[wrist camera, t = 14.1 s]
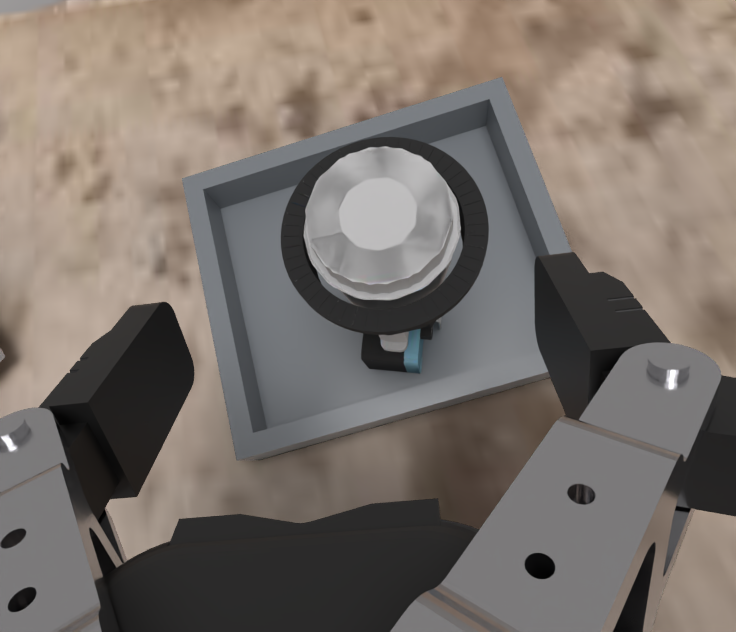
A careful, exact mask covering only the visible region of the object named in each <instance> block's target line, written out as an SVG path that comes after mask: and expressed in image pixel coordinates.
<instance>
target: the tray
mask: <svg viewBox="0 0 736 632" xmlns="http://www.w3.org/2000/svg"><path fill="white" fill-rule="evenodd" d="M378 137H401V138H408V139H414V140H417V141H421V142H424V143H427V144H429V145H432V146H434V147H436V148H438V149H440V150H442V151H444V152H445V153H447V154H448V155H450V156H451V157H453V158H454V159H455V160H456V161H457V162H459V163H460V164H461V165H462V166H463V167H464V168H465V169H466V170H467V172H468V173H469V174H470V176H471V177H472V178H473V180H474V181H475V183H476V185H477V186H478V188H479V190H480V192H481V194H482V197H483V199H484V203H485V206H486V210H487V215H488V224H489V237H488V245H487V251H486V255H485V259H484V262H483V266H482V268H481V270H480V273H479V275H478V277H477V279H476V281H475V283H474V284H473V286H472V287H471V289H470V290H469V292H468V293H467V294H466V295H465V297H464V298H463V299H462V300H461V301H460V302H459V303H458V304H457V305H456V306H455V307H454V308H453V309H452V310H450V311H449V312H448V313H446V314H445V315H444V316H442V320H441V329H439V322H435V323H434V325H433V336H432V340H424V339H423V350H422V358H423V359H422V370H421V374H420V373H409V372H399V371H388V370H377V369H369V368H368V367H367V366H366V364H365V363H364V362H363V361H362V360H361V348H362V340H363V333H359V332H354V331H351V330H348V329H345V328H343V327H340V326H338V325H336V324H334V323H332V322H330V321H328V320H327V319H325V318H324V317H322V316H321V315H320V314H318V313H317V312H316V311H315V310H314V309H313V308H311V307H310V306H309V305H308V303H307V302H306V301H305V300H304V299H303V298H302V297H301V295H300V294H299V293H298V291H297V290H296V288H295V287H294V286H293V284H292V282H291V280H290V278H289V276H288V273H287V271H286V268H285V265H284V261H283V258H282V251H281V226H282V221H283V216H284V213H285V210H286V206H287V204H288V202H289V199H290V197H291V195H292V193H293V192H294V190H295V188H296V187H297V185H298V184H299V182H300V181H301V180H302V178H303V177H304V176H305V175H306V174H307V172H308V171H309V170H310V169H311V168H313V167H314V166H315V165H316V164H317V163H318V162H319V161H321V160H322V159H323V158H325V157H326V156H328V155H329V154H331V153H332V152H334V151H336V150H338V149H340V148H342V147H344V146H347V145H349V144H351V143H355V142H358V141H361V140H366V139H371V138H378ZM182 181H183V187H184V192H185V197H186V202H187V207H188V212H189V217H190V223H191V228H192V233H193V238H194V243H195V248H196V253H197V259H198V264H199V269H200V274H201V279H202V284H203V290H204V295H205V300H206V305H207V310H208V315H209V320H210V326H211V331H212V336H213V341H214V346H215V351H216V356H217V362H218V367H219V372H220V377H221V382H222V387H223V393H224V398H225V403H226V408H227V413H228V418H229V423H230V429H231V434H232V439H233V444H234V449H235V454H236V460H261V459H265V458H268V457H272V456H275V455H279V454H282V453H286V452H289V451H293V450H297V449H300V448H304V447H307V446H311V445H314V444H318V443H321V442H325V441H328V440H332V439H335V438H339V437H342V436H346V435H349V434H353V433H356V432H360V431H363V430H367V429H370V428H374V427H377V426H381V425H385V424H388V423H392V422H395V421H399V420H402V419H406V418H409V417H413V416H416V415H420V414H423V413H427V412H430V411H434V410H437V409H441V408H444V407H448V406H451V405H455V404H458V403H462V402H466V401H469V400H473V399H476V398H480V397H483V396H487V395H490V394H494V393H497V392H501V391H504V390H508V389H511V388H515V387H518V386H522V385H525V384H529V383H532V382H536V381H539V380H543V379H547V378H550V375H549V372H548V370H547V367H546V365H545V363H544V360H543V358H542V355H541V353H540V350H539V347H538V343H537V338H536V332H535V296H534V265H535V259H536V257H537V256H544V255H552V254H560V253H568V252H572V251H571V248H570V246H569V243H568V241H567V238H566V236H565V233H564V231H563V228H562V226H561V223H560V221H559V218H558V216H557V213H556V211H555V208H554V206H553V203H552V201H551V198H550V196H549V193H548V191H547V188H546V186H545V183H544V181H543V178H542V176H541V173H540V171H539V168H538V166H537V163H536V161H535V158H534V156H533V153H532V151H531V148H530V146H529V143H528V141H527V138H526V136H525V133H524V131H523V128H522V126H521V123H520V121H519V118H518V116H517V113H516V111H515V108H514V106H513V103H512V101H511V98H510V96H509V93H508V91H507V88H506V86H505V83H504V81H503V78H502V77H500V78H497V79H494V80H491V81H488V82H485V83H482V84H478V85H475V86H472V87H469V88H466V89H463V90H460V91H456V92H453V93H450V94H447V95H444V96H441V97H437V98H434V99H431V100H428V101H425V102H422V103H419V104H415V105H412V106H409V107H406V108H403V109H400V110H397V111H393V112H390V113H387V114H384V115H381V116H378V117H374V118H371V119H368V120H365V121H362V122H359V123H356V124H352V125H349V126H346V127H343V128H340V129H337V130H334V131H330V132H327V133H324V134H321V135H318V136H315V137H312V138H308V139H305V140H302V141H299V142H296V143H293V144H289V145H286V146H283V147H280V148H277V149H274V150H271V151H267V152H264V153H261V154H258V155H255V156H252V157H249V158H245V159H242V160H239V161H236V162H233V163H230V164H226V165H223V166H220V167H217V168H214V169H211V170H208V171H204V172H201V173H198V174H195V175H192V176H189V177H186V178H182ZM462 248H463V243H462V237H461V233H460V237H459V240H458V243H457V246H456V248H455V251H454V254H453V256H452V261H451V263H450V266H449V268H448V271H447V273H446V276H445V278H444V280H445V279H446V278H447V277H448V276H449V274H450V273H451V272H452V270H453V268H454V267H455V265H456V263H457V261H458V259H459V257H460V254H461V251H462ZM317 273H318V277H319V279H320V282H321V284H322V285H323V286H324V287H325V288H326V289H327V290H328V291H329V292H331V293H332V294H333V295H335V296H336V297H338V298H340V299H341V300H343V301H346V302H348V303H350V304H352V303H351V302H350V301H349V300H348V299H347V298H346V297H345V295H344V294H343V293H342V292H341V291H340V290H338V289H336V288H334V287H332V286H331V285H330V284H329V283H327V281H326V280H325V279H324V278H323V277H322V275H321V274H320V273H319V272H318V271H317ZM443 282H444V281H443Z"/></svg>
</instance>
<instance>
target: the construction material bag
mask: <svg viewBox="0 0 736 632" xmlns="http://www.w3.org/2000/svg"><path fill="white" fill-rule="evenodd" d="M4 358H5V355H4V353H3V351H2V349H1V348H0V362H1V361H2V360H3V359H4Z"/></svg>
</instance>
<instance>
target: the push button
mask: <svg viewBox="0 0 736 632" xmlns="http://www.w3.org/2000/svg"><path fill="white" fill-rule="evenodd" d="M460 233H461V237H462V243H463V248H462V251H461V254H460V257H459V259H458V261H457V263H456V265H455V267H454V268H453V270H452V272H451V273H450V274H449V276H448V277H447V278H446V279H445V280H444V278H445V276H446V273H447V271H448V268H449V266H450V263H451V261H452V256H453V254H454V251H455V248H456V246H457V243H458V240H459V237H460ZM488 237H489V224H488V215H487V210H486V206H485V203H484V199H483V197H482V194H481V192H480V190H479V188H478V186H477V185H476V183H475V181H474V180H473V178H472V177H471V176H470V174H469V173H468V172H467V170H466V169H465V168H464V167H463V166H462V165H461V164H460V163H459V162H457V161H456V160H455V159H454V158H453V157H451V156H450V155H448V154H447V153H445V152H444V151H442V150H440V149H438V148H436V147H434V146H432V145H429V144H427V143H424V142H421V141H417V140H414V139H408V138H401V137H378V138H371V139H366V140H361V141H358V142H355V143H351V144H349V145H347V146H344V147H342V148H340V149H338V150H336V151H334V152H332V153H331V154H329V155H328V156H326V157H325V158H323V159H322V160H321V161H319V162H318V163H317V164H316V165H315V166H314V167H313V168H311V169H310V170H309V171H308V172H307V174H306V175H305V176H304V177H303V178H302V180H301V181H300V182H299V184H298V185H297V187H296V188H295V190H294V192H293V193H292V195H291V197H290V199H289V202H288V204H287V206H286V210H285V213H284V216H283V221H282V226H281V251H282V258H283V261H284V265H285V268H286V271H287V273H288V276H289V278H290V280H291V282H292V284H293V286H294V287H295V288H296V290H297V291H298V293H299V294H300V295H301V297H302V298H303V299H304V300H305V301H306V302H307V303H308V305H309V306H310V307H311V308H313V309H314V310H315V311H316V312H317V313H318V314H320V315H321V316H322V317H324V318H325V319H327V320H328V321H330V322H332V323H334V324H336V325H338V326H340V327H343V328H345V329H348V330H351V331H354V332H359V333H363V340H362V348H361V360H362V361H363V362H364V363H365V364H366V366H367V367H368V368H369V369H377V370H388V371H399V372H409V373H420V374H421V370H422V359H423V358H422V350H423V339H424V340H432V336H433V325H434V323H435V322H439V329H441V320H442V316H444V315H445V314H446V313H448V312H449V311H450V310H452V309H453V308H454V307H455V306H456V305H457V304H458V303H459V302H460V301H461V300H462V299H463V298H464V297H465V295H466V294H467V293H468V292H469V290H470V289H471V287H472V286H473V284H474V283H475V281H476V279H477V277H478V275H479V273H480V270H481V268H482V266H483V262H484V259H485V255H486V251H487V245H488ZM317 271H318V272H319V273H320V274H321V275H322V277H323V278H324V279H325V280H326V281H327V283H329V284H330V285H331V286H332V287H334V288H336V289H338V290H340V291H341V292H342V293H343V294H344V295H345V297H346V298H347V299H348V300H349V301H350V302H351V303H352V304H350V303H348V302H346V301H343V300H341V299H340V298H338V297H336V296H335V295H333V294H332V293H331V292H329V291H328V290H327V289H326V288H325V287H324V286H323V285H322V284H321V282H320V279H319V277H318V273H317ZM443 281H444V282H443Z"/></svg>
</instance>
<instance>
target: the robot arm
mask: <svg viewBox="0 0 736 632" xmlns="http://www.w3.org/2000/svg"><path fill="white" fill-rule="evenodd" d="M534 296H535V332H536V338H537V343H538V347H539V350H540V353H541V355H542V358H543V360H544V363H545V365H546V367H547V370H548V372H549V375H550V377H551V380H552V382H553V385H554V387H555V389H556V392H557V394H558V397H559V399H560V402H561V404H562V406H563V409H564V411H565V414H566V416H562V417H560V418H559V419H558V420H557V421H556V422H555V424H554V425H553V426H552V428H551V429H550V431H549V432H548V433H547V435H546V436H545V438H544V439H543V440H542V442H541V443H540V445H539V446H538V448H537V449H536V450H535V452H534V453H533V455H532V456H531V457H530V459H529V460H528V462H527V463H526V465H525V466H524V467H523V469H522V470H521V472H520V473H519V474H518V476H517V477H516V479H515V480H514V482H513V483H512V484H511V486H510V487H509V489H508V490H507V491H506V493H505V494H504V496H503V497H502V499H501V500H500V501H499V503H498V504H497V506H496V507H495V509H494V510H493V511H492V513H491V514H490V516H489V517H488V518H487V520H486V521H485V523H484V524H483V526H482V527H481V528H480V530H479V529H476V528H474V527H471V526H468V525H464V524H461V523H457V522H453V521H447V520H441V518H440V510H439V503H438V499H426V500H413V501H400V502H388V503H375V504H369V505H366V506H363V507H359V508H356V509H352V510H349V511H345V512H342V513H339V514H335V515H332V516H328V517H325V518H322V519H318V520H315V521H311V522H307V523H293V522H287V521H280V520H274V519H268V518H261V517H255V516H249V515H242V514H237V515H224V516H211V517H199V518H186V519H179V521H178V523H177V526H176V528H175V531H174V533H173V536H172V538H171V541H170V542H166V543H163V544H161V545H158V546H156V547H153V548H151V549H149V550H147V551H145V552H143V553H141V554H139V555H137V556H135V557H133V558H131V559H130V560H128V561H127V558H126V556H125V553H124V550H123V547H122V545H121V542H120V539H119V537H118V534H117V531H116V528H115V526H114V523H113V520H112V518H111V516H110V514H109V513H108V511H107V509H106V505H107V503H108V502H109V500H110V499H117V498H129V497H137V496H138V494H139V492H140V490H141V488H142V486H143V484H144V482H145V480H146V478H147V476H148V474H149V472H150V470H151V468H152V466H153V464H154V462H155V460H156V458H157V456H158V454H159V452H160V450H161V448H162V446H163V444H164V442H165V440H166V438H167V436H168V434H169V432H170V430H171V428H172V426H173V424H174V422H175V420H176V418H177V416H178V414H179V412H180V410H181V408H182V406H183V404H184V402H185V400H186V398H187V396H188V394H189V392H190V390H191V388H192V385H193V381H194V365H193V360H192V357H191V355H190V352H189V350H188V347H187V344H186V342H185V339H184V336H183V334H182V331H181V329H180V326H179V323H178V321H177V318H176V315H175V313H174V311H173V309H172V307H171V306H170V305H169V304H168V303H167V302H159V303H151V304H143V305H135V306H131V307H130V308H129V309H128V310H127V311H126V312H125V314H124V315H123V316H122V317H121V319H120V320H119V321H118V322H117V323H116V325H115V326H114V327H113V328H112V330H111V331H109V332H108V333H106V334H105V335H104V336H102V337H101V338H99V339H98V340H96V341H95V342H94V343H92V344H91V346H90V347H89V348H88V349H87V350H86V352H85V353H84V354H83V355H82V356H81V358H80V361H77V362H76V363H75V365H74V366H73V367H72V368H71V369H70V373H67V374H66V375H65V377H64V378H63V379H62V380H61V381H60V383H59V384H58V385H57V386H56V387H55V388H54V390H53V391H52V392H51V393H50V394H49V396H48V397H47V398H46V399H45V400H44V402H43V403H42V404H41V405H40V406H39V408H29V409H24V410H20V411H17V412H14V413H12V414H9V415H7V416H5V417H3V418H0V632H652V629H653V625H654V622H655V618H656V614H657V610H658V607H659V604H660V600H661V597H662V594H663V592H664V589H665V586H666V584H667V581H668V578H669V576H670V573H671V570H672V568H673V565H674V563H675V560H676V557H677V555H678V552H679V549H680V547H681V544H682V542H683V539H684V536H685V534H686V531H687V528H688V526H689V523H690V521H691V518H692V515H693V513H694V510H695V509H697V510H703V511H709V512H714V513H720V514H726V515H731V516H736V378H732V377H727V376H722V375H721V371H720V368H719V366H718V365H717V364H716V362H715V361H714V360H712V359H711V358H710V357H709V356H707V355H705V354H704V353H702V352H700V351H698V350H696V349H693V348H690V347H687V346H683V345H679V344H673V343H670V341H669V340H668V339H667V337H666V336H665V335H664V334H663V332H662V331H661V330H660V329H659V327H658V326H657V325H656V323H655V322H654V321H653V320H652V318H651V317H650V316H649V315H648V313H647V312H646V311H645V310H643V308H642V306H641V304H640V303H639V302H638V301H637V299H636V298H635V299H634V296H633V294H632V293H631V292H630V291H629V289H628V288H627V287H626V285H625V284H624V283H623V282H622V281H620V280H618V279H616V278H614V277H612V276H610V275H608V274H606V273H605V272H596V273H589V272H588V271H587V270H586V268H585V267H584V265H583V264H582V262H581V261H580V260H579V258H578V257H577V255H576V254H575V253H574V252H568V253H560V254H552V255H544V256H537V257H536V259H535V265H534Z"/></svg>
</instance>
